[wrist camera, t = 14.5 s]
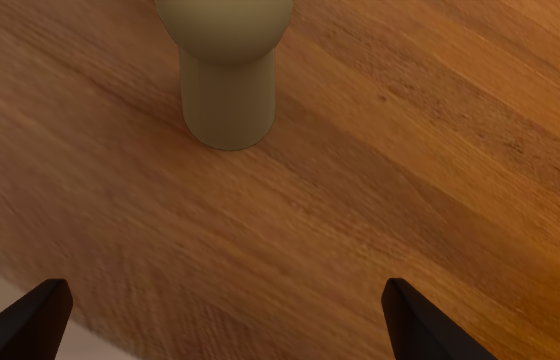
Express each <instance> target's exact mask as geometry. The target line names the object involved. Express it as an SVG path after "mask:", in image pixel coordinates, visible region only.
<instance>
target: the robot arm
mask: <svg viewBox="0 0 560 360" xmlns="http://www.w3.org/2000/svg"><path fill="white" fill-rule="evenodd" d="M381 303H382V308H383V312H384V316H385V320H386V324H387V328H388V332H389V336H390V340H391V344H392V348H393V352H394V356H395V359H396V360H498V359H497V358H496V357H494V356H493V355H492V354H491V353H490V352H489V351H487V350H486V349H485V348H484V347H483V346H482V345H480V344H479V343H478V342H477V341H476V340H475V339H473V338H472V337H471V336H470V335H469V334H468V333H466V332H465V331H464V330H463V329H462V328H461V327H459V326H458V325H457V324H456V323H455V322H454V321H452V320H451V319H450V318H449V317H448V316H447V315H445V314H444V313H443V312H442V311H441V310H440V309H438V308H437V307H436V306H435V305H434V304H433V303H431V302H430V301H429V300H428V299H427V298H426V297H424V296H423V295H422V294H421V293H420V292H418V291H417V290H416V289H415V288H414V287H413V286H411V285H410V284H409V283H408V282H407V281H406V280H404V279H403V278H389V279H388V281H387V283H386V286H385V288H384V291H383V294H382V297H381ZM72 307H73V298H72V295H71V292H70V289H69V286H68V283H67V281H66V280H65V279H47V280H45V281H44V282H42V283H41V284H40V285H38V286H37V287H35V288H34V289H33V290H31V291H30V292H28V293H27V294H26V295H24V296H23V297H21V298H20V299H19V300H17V301H16V302H14V303H13V304H12V305H10V306H9V307H8V308H6V309H5V310H4V311H2V312H1V313H0V360H55V357H56V354H57V351H58V348H59V345H60V342H61V339H62V337H63V333H64V331H65V328H66V325H67V322H68V319H69V316H70V313H71V310H72Z"/></svg>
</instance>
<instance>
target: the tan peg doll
mask: <svg viewBox="0 0 560 360" xmlns="http://www.w3.org/2000/svg"><path fill="white" fill-rule="evenodd" d="M154 1H155V6H156V9H157V12H158V15H159V17H160V19H161V21H162V22H163V24H164V26H165V28H166V30H167V31H168V33H169V35H170V36H171V37H172V39H173V40H174V41H175V42H176V43H177V44H178V45H179V61H180V80H181V98H182V110H183V117H184V121H185V122H186V124H187V126H188V128H189V130H190V132H191V133H192V134H193V135H194V136H195V137H196V138H198V139H199V140H200V141H201V142H202V143H204V144H206V145H208V146H211V147H213V148H215V149H221V150H228V151H233V150H239V149H245V148H247V147H250V146H252V145H254V144H256V143H258V142H259V141H260V140H261V139H262V138H263V137H264V136H265V135H266V134H267V133H268V132H269V130H270V128H271V126H272V124H273V122H274V117H275V110H276V97H275V51H274V47H276V45H277V44H278V42H279V41H280V39H281V38H282V36H283V34H284V32H285V30H286V28H287V26H288V25H289V22H290V18H291V14H292V9H293V0H154Z"/></svg>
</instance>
